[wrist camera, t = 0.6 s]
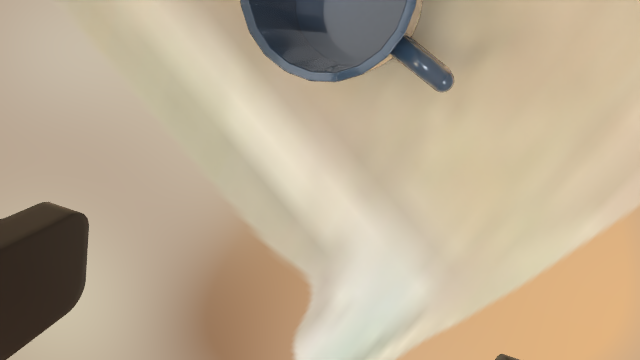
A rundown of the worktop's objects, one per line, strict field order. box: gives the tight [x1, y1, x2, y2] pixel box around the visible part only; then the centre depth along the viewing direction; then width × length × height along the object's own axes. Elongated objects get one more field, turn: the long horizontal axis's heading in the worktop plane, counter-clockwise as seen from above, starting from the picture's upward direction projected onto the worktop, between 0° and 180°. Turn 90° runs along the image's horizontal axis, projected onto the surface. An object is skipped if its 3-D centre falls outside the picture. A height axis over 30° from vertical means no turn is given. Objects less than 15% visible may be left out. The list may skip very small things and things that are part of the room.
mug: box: [240, 0, 454, 92], centre depth 28 cm, size 13×9×10 cm
